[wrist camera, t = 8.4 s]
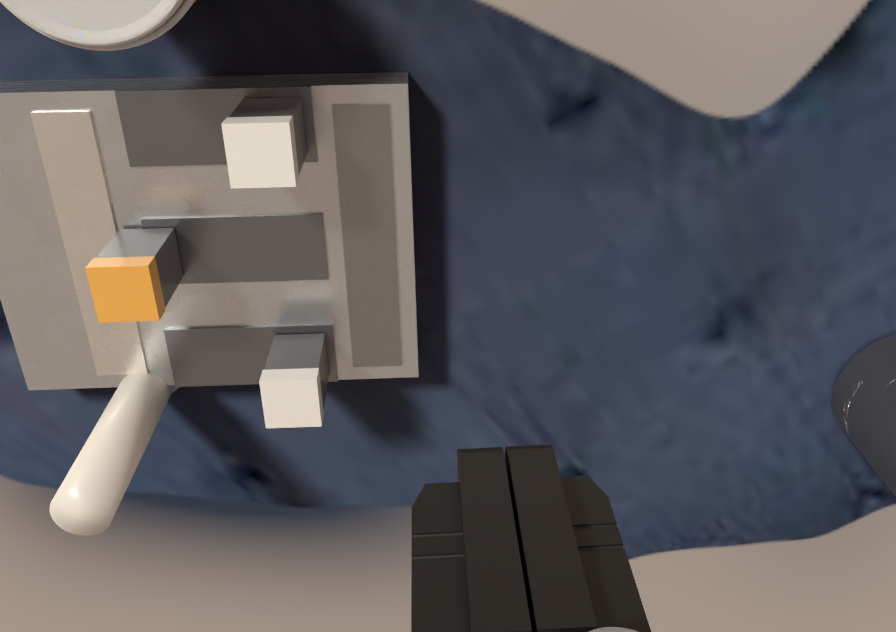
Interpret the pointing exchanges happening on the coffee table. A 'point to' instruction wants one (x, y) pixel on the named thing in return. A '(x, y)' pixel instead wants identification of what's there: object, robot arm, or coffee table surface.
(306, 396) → the toggle
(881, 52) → the coffee table surface
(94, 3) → the coffee cup
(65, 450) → the coffee table surface
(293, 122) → the toggle
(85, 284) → the breaker panel
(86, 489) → the post
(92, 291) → the toggle
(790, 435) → the coffee table surface
